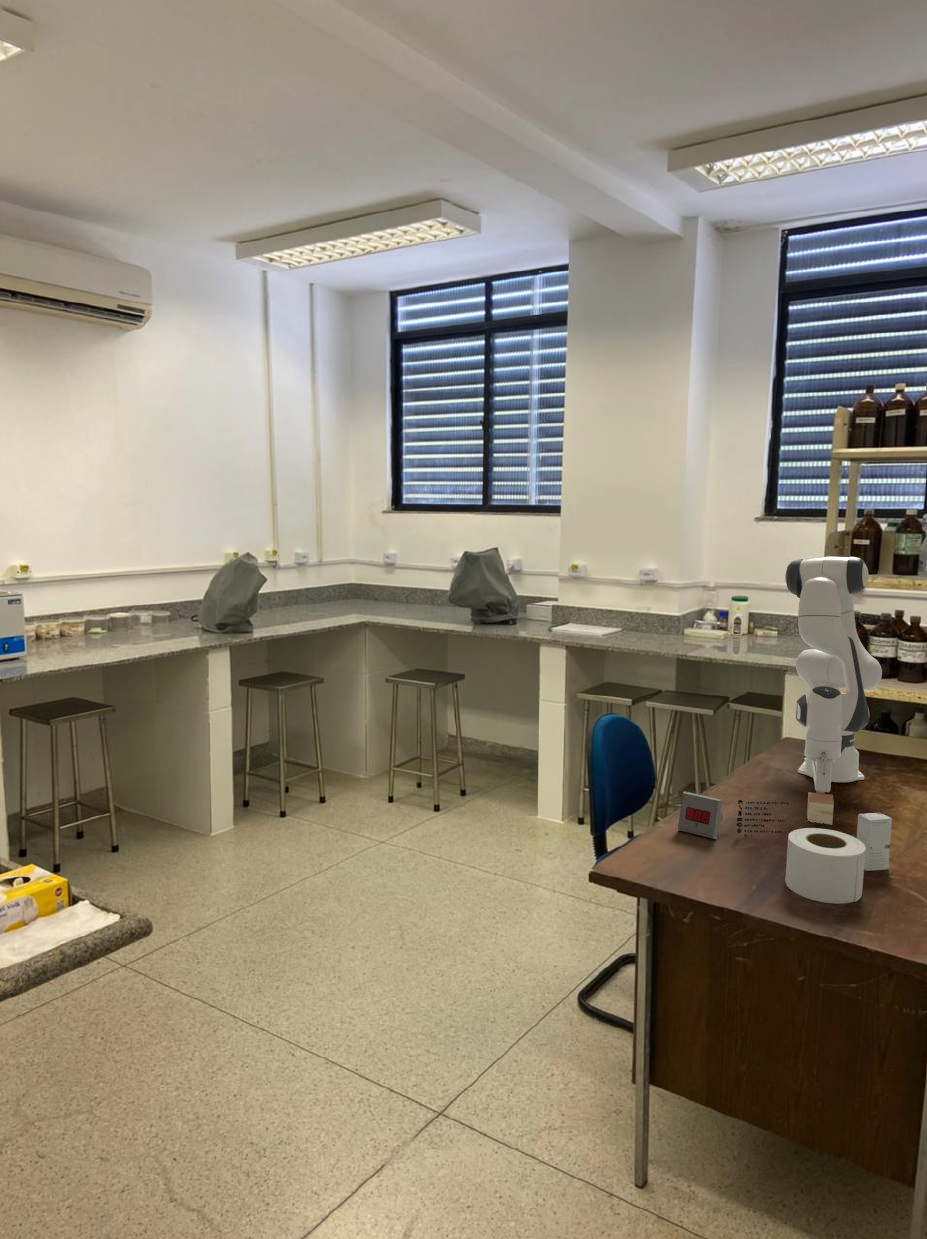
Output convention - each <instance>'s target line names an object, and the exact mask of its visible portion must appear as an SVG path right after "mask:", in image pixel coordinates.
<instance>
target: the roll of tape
mask: <svg viewBox="0 0 927 1239" xmlns="http://www.w3.org/2000/svg"><path fill="white" fill-rule="evenodd" d="M865 851H866V847H865V845H864V844H863V843H862V842H861V841H860V840H858V839H857V837H855V836H854V835H850V834H847V833H845V832H842V831H838V830H834V829H833V830H832V829H827V828H817V827H806V828H805V827H804V828H799V829H794V830H792V831H791V832H789V833H788V837H787V851H786V867H785V878H784V881H785V885H786V887H787V888H788V889H790V890H791V891H792V892H794V893H795V894H797V895H798V896H801V897H803V898H805V899H808V900H812V901H816V902H820V903H827V904H850V903H856V902H858V901H859V900H860V899H861V898H862V895H863V885H864V872H865V870H864V863H865Z"/></svg>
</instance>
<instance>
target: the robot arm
mask: <svg viewBox="0 0 927 1239" xmlns="http://www.w3.org/2000/svg"><path fill="white" fill-rule="evenodd" d="M784 576H785V577H784V581H785V584H786V588H787V590H788V591H789V592H790V594H793V595H795V596H796V597H797V598H798V599H799V602H798V609H797V610H798V613H797V624H798V626H797V627H798V634H799V636H800V638H801V640H802V641H803V643H805V644H806V645H808V646H810V649H803V651H801V652H800V653H799V655H798V656H797V658H796V661H795V670H796V671H795V672H796V673H797V674H798V675H797V676H798V677H799V678H800V679H801V680H802V681H803V682H804V683H805V684H806V686H807V687H808V690H809V691H810V692H809V693H804V694H802V695H801V696H800V697H799V698H798V699H797V700H796V712H795V719H796V721H797V722H798V723H799V724H800V725H802V726H803V727H804V728H807V731H806V734H805V747H804V752H803V753H804V757H805V758H804V760H803V763H801V765H800V766H799V768H798V769H797V770H798V771H797V773H799V774H802V775H805V776H808V777H810V778H813V782H814V789H815V793H820V794H825V793H830V792H831V786H832V785H831V784H832V782H833V783H850V782H855V781H863V780H865V775H864V774H863V773H862V772H861V771H860V770H859V765H860V764H859V760H860V758H859V757H860V753H859V751H858V750H857V749H856V748H855V746H854V745H855V741H856V736H855V734H856V733H858V732H860V731H861V730H863V729H864V728H865V727H866V726H867V725H868V724H869V722H870V710H869V706H868V702H867V699H866V698H867V697H866V695H865V691H872V690H874V689H875V688H877V686H878V685H879V684H880V682H881V680H882V676H883V670H882V666H881V664H880V663H879V661H878V659H876V658H875V657H873V656H872V655H871V654H870V653H869V652H868V651H867V650H866V648H865V646H864V645H863V643H862V642H861V640H860V638H859V634H858V633H857V628H856V627H857V626H856V619H855V606H854V596H853V595H855V594H858V593H860V592H862V591H863V590H864V589H865V588H866V585H867V583H868V580H869V569H868V566H867V565H866V562H865V561H864V560H863V559H862V558H861V557H856V556H849V557H848V556H847V557H846V556H824V557H815V558H805V559H802V558H800V559H797V560H793V561H790V563H789V564H788V565H787V568H786V571H785V574H784ZM841 689H844V690H845V691H846V692H845V694H842V692H841Z"/></svg>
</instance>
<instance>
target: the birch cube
mask: <svg viewBox="0 0 927 1239" xmlns="http://www.w3.org/2000/svg"><path fill="white" fill-rule="evenodd" d="M807 795H808V796H807V810H806V816H807V817H806V819H808V820H807V822H808V821H810V822H809V823H815V822H816V823H817V824H823V823H824V824H825V825H831V826H832V825H833V820H834V819H833V818H834V808H835V807H834V806H835V805H834V804H835V800H834V795H833V794H828V793H827V794H826V793H824V794H820V793H816V792H809V791H808V794H807Z"/></svg>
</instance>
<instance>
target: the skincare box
mask: <svg viewBox="0 0 927 1239" xmlns="http://www.w3.org/2000/svg"><path fill="white" fill-rule="evenodd" d="M892 824H893V818H892V817H890V816H888V815H885V814H884V813H881V812H872V813H871V812H869V813H868V812H867V813H859V814H858V815H857V825H856V838H857V839H858V840H860V841H861V842H862V843H863V844H864V845H865V847H866V851H865V863H864V872H869V871H870V872H871V871H882V870H884V871H886V870H888V869H890V868H889V866H890V855H891V854H890V853H891V841H892V840H891V838H892V837H891V836H892V826H893V825H892Z"/></svg>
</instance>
